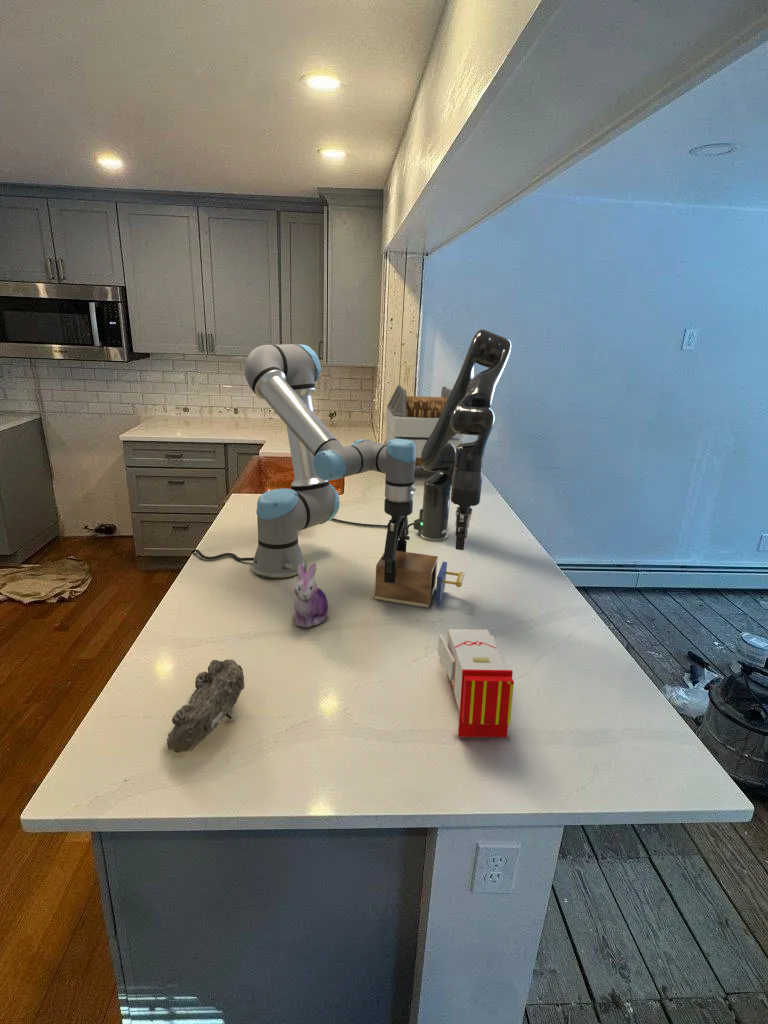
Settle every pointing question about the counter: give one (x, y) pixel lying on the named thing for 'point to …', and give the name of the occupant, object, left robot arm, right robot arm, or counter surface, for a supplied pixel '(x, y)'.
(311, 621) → the figurine
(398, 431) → the transformer
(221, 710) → the fossil
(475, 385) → the right robot arm
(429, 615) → the counter surface
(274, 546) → the left robot arm
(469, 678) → the toy
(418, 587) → the cabinet
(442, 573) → the drawer
